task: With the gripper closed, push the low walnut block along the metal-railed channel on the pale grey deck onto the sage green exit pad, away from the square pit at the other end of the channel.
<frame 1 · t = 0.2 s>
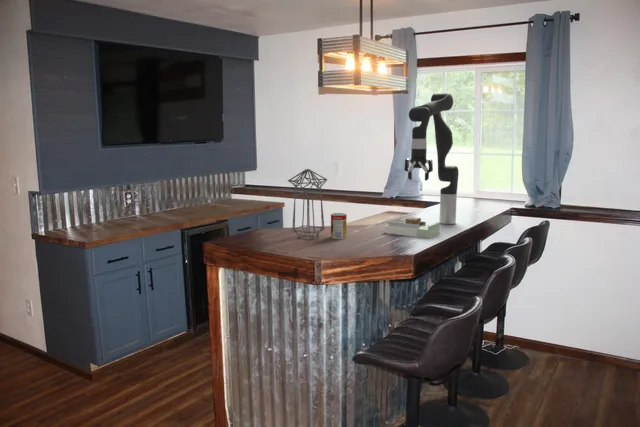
hand: (418, 180, 279), 29 cm above the table, fingers open, 8 cm apart
geometric lantern: (307, 238, 277), on the table
walnut block: (413, 225, 289), point 4 cm above the table, touching deck
canned food: (338, 237, 279), on the table
channel rails: (406, 223, 290), point 4 cm above the table
deck: (412, 233, 289), on the table
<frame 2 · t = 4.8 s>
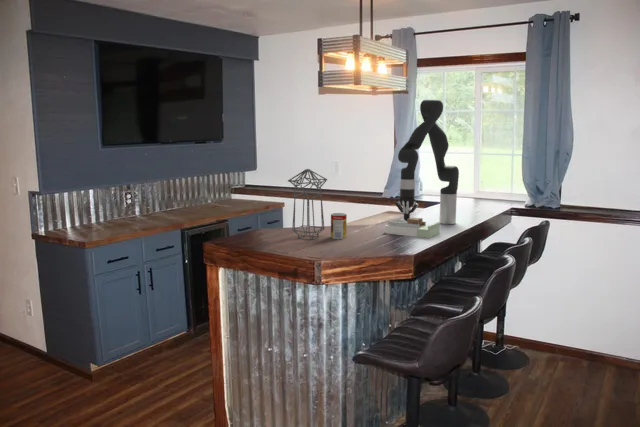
hand: (406, 220, 290), 6 cm above the table, fingers closed
nothing on the table moved.
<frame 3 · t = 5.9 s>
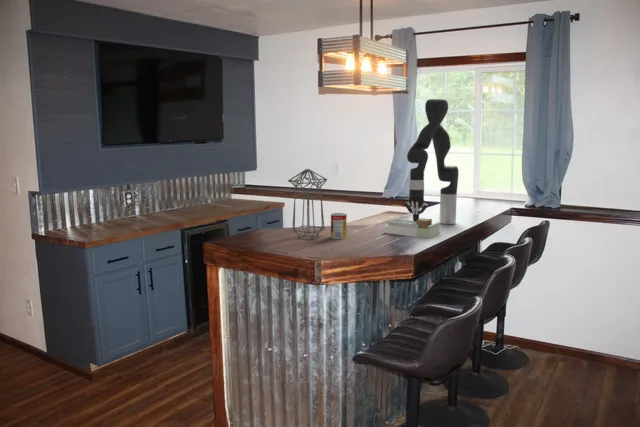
hand: (415, 221, 287), 7 cm above the table, fingers closed
walnut block: (423, 227, 285), point 4 cm above the table, touching gripper
everything else where it was.
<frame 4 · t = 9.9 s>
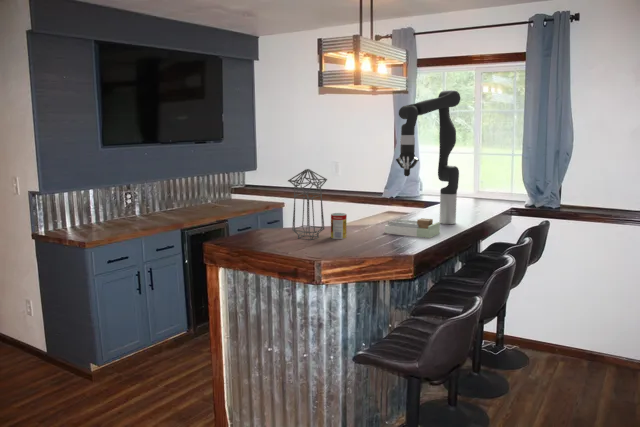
hand: (406, 176, 298), 29 cm above the table, fingers closed
walnut block: (424, 227, 285), point 4 cm above the table, touching deck
everything else where it was.
at the end: walnut block 1.4 cm from the target spot on the deck, point 4.0 cm above the deck's base; walnut block tilted 0° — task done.
